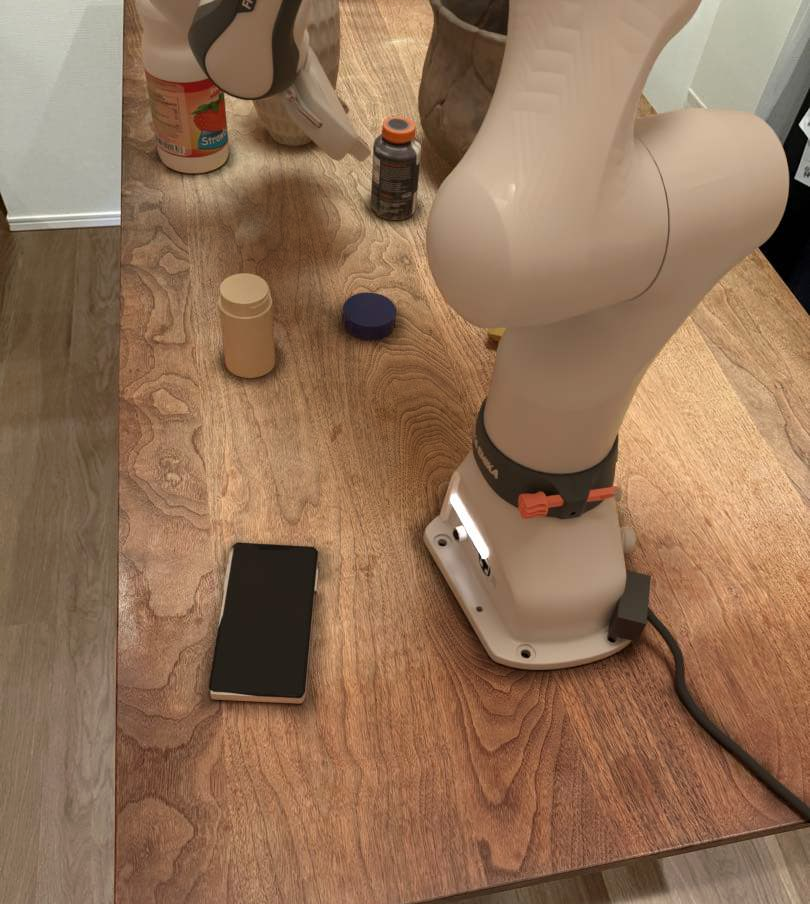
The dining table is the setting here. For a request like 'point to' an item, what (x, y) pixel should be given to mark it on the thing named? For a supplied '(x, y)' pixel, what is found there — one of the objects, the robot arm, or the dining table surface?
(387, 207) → the pill bottle
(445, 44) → the pot
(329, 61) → the vase
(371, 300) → the lid
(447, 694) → the dining table surface
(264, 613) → the smartphone
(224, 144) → the fruit juice
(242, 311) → the jar
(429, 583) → the dining table surface
